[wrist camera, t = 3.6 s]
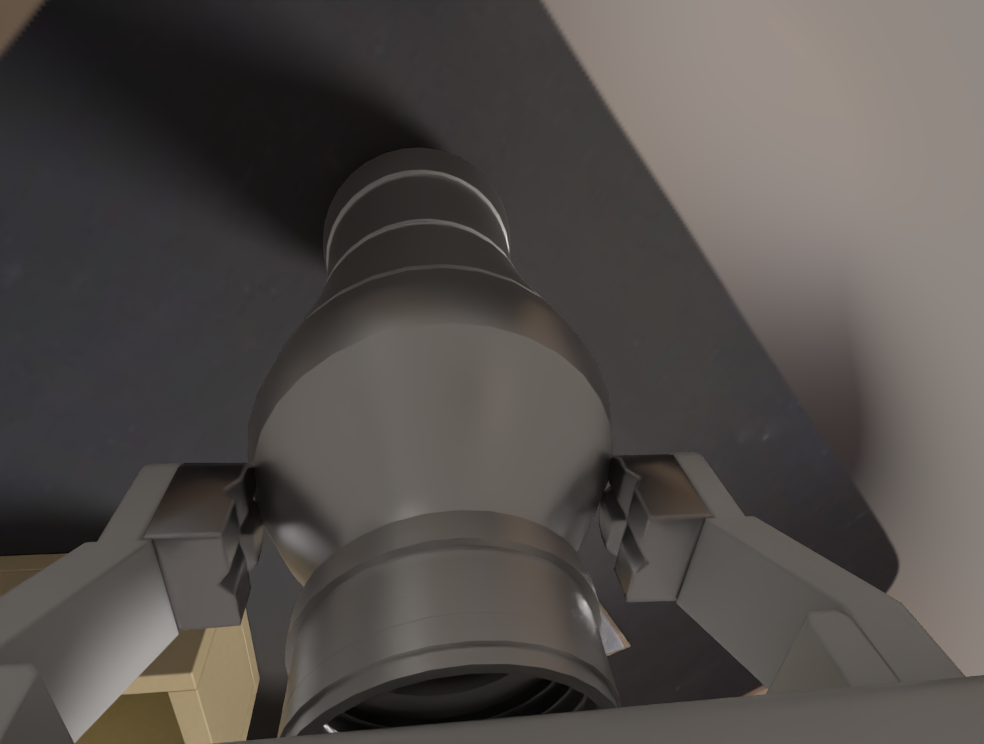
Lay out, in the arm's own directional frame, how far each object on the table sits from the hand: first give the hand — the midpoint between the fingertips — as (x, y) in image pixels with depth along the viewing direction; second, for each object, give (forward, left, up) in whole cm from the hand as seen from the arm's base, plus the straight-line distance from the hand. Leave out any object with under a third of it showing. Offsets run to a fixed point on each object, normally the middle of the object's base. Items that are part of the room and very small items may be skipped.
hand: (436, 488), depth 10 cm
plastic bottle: (0, 0, -16) cm, 16 cm away
